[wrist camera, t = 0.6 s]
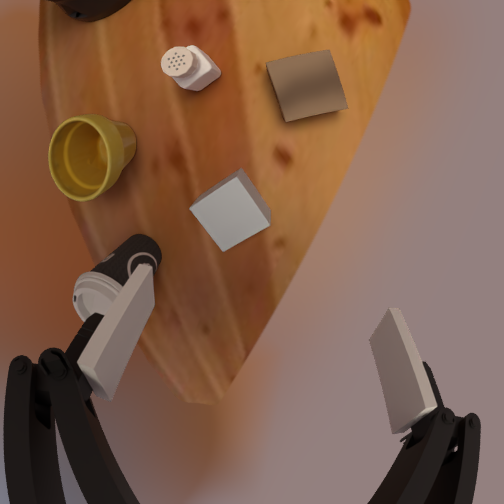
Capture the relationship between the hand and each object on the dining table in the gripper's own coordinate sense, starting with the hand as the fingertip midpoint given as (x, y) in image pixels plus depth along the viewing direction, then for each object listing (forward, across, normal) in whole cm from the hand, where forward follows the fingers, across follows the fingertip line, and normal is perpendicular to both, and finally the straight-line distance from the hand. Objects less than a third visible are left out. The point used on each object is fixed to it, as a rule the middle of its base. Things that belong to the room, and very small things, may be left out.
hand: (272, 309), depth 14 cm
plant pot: (+24, -23, +2) cm, 33 cm away
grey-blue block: (+24, -4, -4) cm, 24 cm away
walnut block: (+24, +1, +13) cm, 27 cm away
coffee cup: (+24, -18, -15) cm, 33 cm away
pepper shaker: (+24, -11, +13) cm, 29 cm away
